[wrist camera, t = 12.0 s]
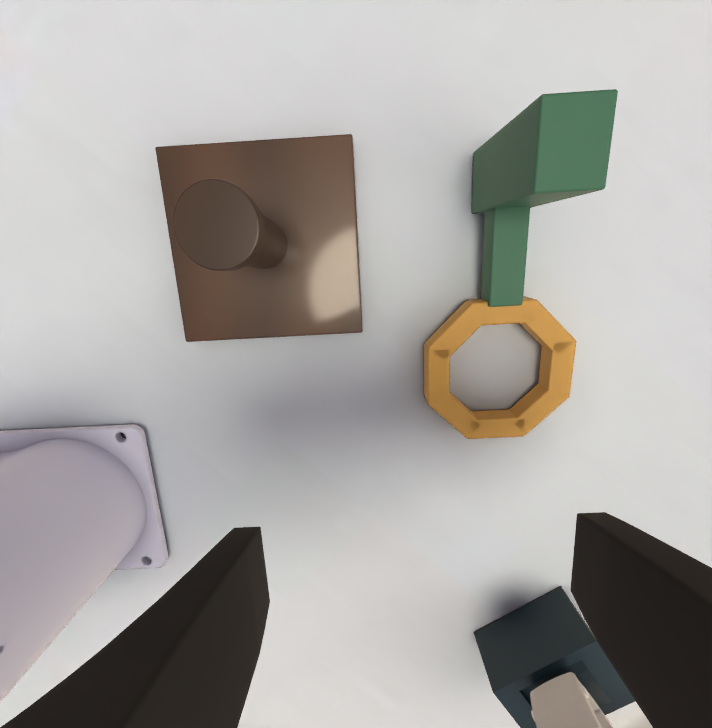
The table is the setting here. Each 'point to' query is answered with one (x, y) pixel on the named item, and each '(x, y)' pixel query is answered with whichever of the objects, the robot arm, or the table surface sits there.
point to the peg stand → (264, 237)
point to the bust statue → (550, 667)
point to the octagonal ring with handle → (522, 249)
